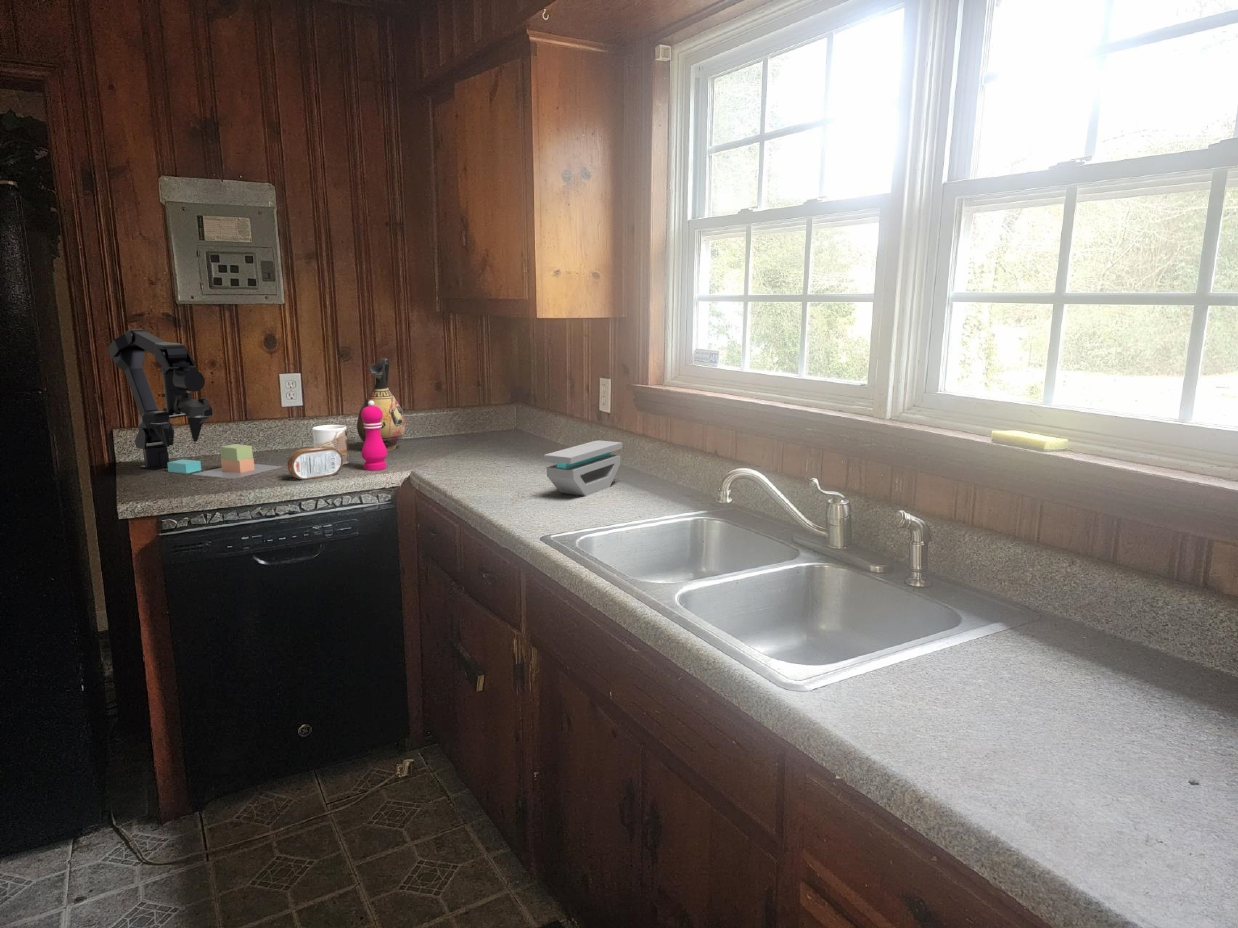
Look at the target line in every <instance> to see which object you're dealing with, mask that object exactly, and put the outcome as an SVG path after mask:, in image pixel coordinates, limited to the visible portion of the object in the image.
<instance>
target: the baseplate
mask: <svg viewBox="0 0 1238 928" xmlns="http://www.w3.org/2000/svg"><path fill="white" fill-rule="evenodd" d="M280 468H283V465H280V466H279V465H269V464H258V463H254V469H255V470H251V471H247V472H242V473H236V472H226V471H222V467H218V468H217V467H216V468H213V469H209V470H205V471H200V472H199V471H198V472H196V473H195V472H194V473H191V475H194V476H204V477H212V478H221V479H222V478H223V479H231V480H232V479H233V480H235V479H239V478H242V477H247V476H251V475H255V474H256V475H257V474H259V473H263V472H268V471H272V470H277V469H280Z"/></svg>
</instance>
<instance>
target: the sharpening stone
mask: <svg viewBox="0 0 1238 928" xmlns="http://www.w3.org/2000/svg"><path fill="white" fill-rule="evenodd" d="M621 449H623V442H620V441H609V440H608V441H607V440H598V439H597V440H593V441H589V442H587V443H582V444H578V445H575V446H570V447H567V448H565V449H564V448H563V449H559V450H558V451H557V450H556V451H553V452H549V453H546V454H543V461H544V462H549V463H555V464H553V465H550V466H547V467H546V477H547V479H548V480H549V481H551V483H552V485H553V486H554V487H555V488H556V489H557V491H559V493H560V494H569V495H574V496H575V495H576V496H582V497H589V496H590V495H593V494H595V493H598V492H600V491H603V490H606V489H609V488H611V485H612V483H613V481H614V480H615V479H614V478H615V477H616V474H617V472H618V470H619V468H620V466H621V455H619V454H612V453H613V452H615V451H617V450H621Z"/></svg>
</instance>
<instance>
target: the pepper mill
mask: <svg viewBox="0 0 1238 928" xmlns="http://www.w3.org/2000/svg"><path fill="white" fill-rule="evenodd" d="M368 405H369V406H367V407H365V408H364V409H363V410H362V412H361V418H362V419H363V420H364V422H365V423H364V428H365V430H366V438H365V442H363V445H362V449H361V457H362V459H363V460H364V461H365V462H364V463H363V469H364V470H365V471H381V470H385V469H387V462H386V461H385V459H386V458H387V456H388V451H387V449H386V447H385V445H384V443H383V441H382V438H381V433H380V428H381V427H382V426H381V422H380V421H381V419H382V417H383V413H382V410H381V409H380V408H379V407H377V406H374V401H369V402H368Z"/></svg>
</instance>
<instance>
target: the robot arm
mask: <svg viewBox="0 0 1238 928" xmlns="http://www.w3.org/2000/svg"><path fill="white" fill-rule="evenodd" d="M146 352H148V353H150V354H151V355H153V356H154V361H156V362H157V363H158V364H159V365H160V366H161V368H159V370H158V372H159V373H161V374H162V380H163V390H164V392H163V393H161V398H164V399H165V400H164V401H165V407H163V409H162V411H160V410H159V408H158V405H157V403H156V400H155V396H154V395H153V392H152V390H151V386H150V384H149V381H148V378H147V376H146V372H145V370H144V368H143V366H144V361H145V360H146V355H145V353H146ZM108 353H109V356H110V357H111V358H112V361H113V363H114V365H115V366H116V367H118V368H119V369H120V370H122V371H123V372H124V374H125V378H126V380H127V383H128V386H129V388H130V391H131V393H132V396H133V399H134V402H135V404H136V408H137V410H138V413H139V415H140V418H139V422H138V424H137V428H138V432H137V434H136V436H135V439H134V446H135V447H136V449H142V454H143V461H144V465H140V466H139V468H140V469H147V470H149V469H150V470H159V469H165V468H168V464H167V462H170V457H169V450H168V447H170V446H173V445H174V438H175V429H174V427H173V424H172V422H171V420H170V419H177V418H183V417H187V421H188V425H189V431H190V434H191V437H192V440H193V442H194V443H197V442H198V441H199V437H200V433H201V430H202V428H203V424H204V423H205V422H206V421H207V420H209V419H210V418H211V417H212V416H213V415H214V409H213V408H212V407H211V406H210V401H209V398H207V397H201V398H199V399H198V398H197V399H194V397H193V394H192V392H198V391H201V390H202V389H203V388H204V386H205V384H206V383H205V382H206V380H205V377H204V375H203V374H202V373H201V372H200V371H198V369H197V366H196V361H195V360H194V358H193V356H192V355H191V354H190V351H189V350H188V348H187V347H186V345H185V344H183V343H180V342H168V341H165V340H163V338H159V337H157V336H156V335H154V334H152V333H150V332H149V331H148V330H146V329H143V328H135V329H133V328H132V329H128V330H126V331H125V333H124V334H122V335H120V336H118V337H116V338H114V339H113V341H111V343H110V345H109V346H108ZM210 416H211V417H210Z"/></svg>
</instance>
